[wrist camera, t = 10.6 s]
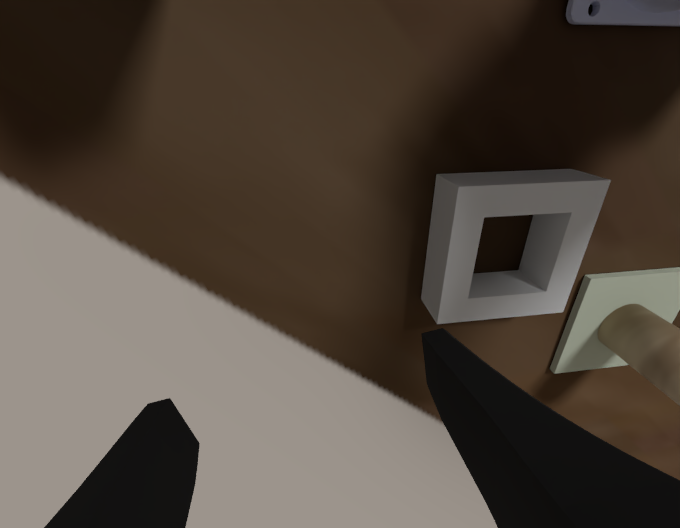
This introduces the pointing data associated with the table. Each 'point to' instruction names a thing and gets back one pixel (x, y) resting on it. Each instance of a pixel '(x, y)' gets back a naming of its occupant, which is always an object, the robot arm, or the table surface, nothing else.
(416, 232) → the table surface
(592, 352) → the mat
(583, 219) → the gray square frame
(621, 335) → the plug
